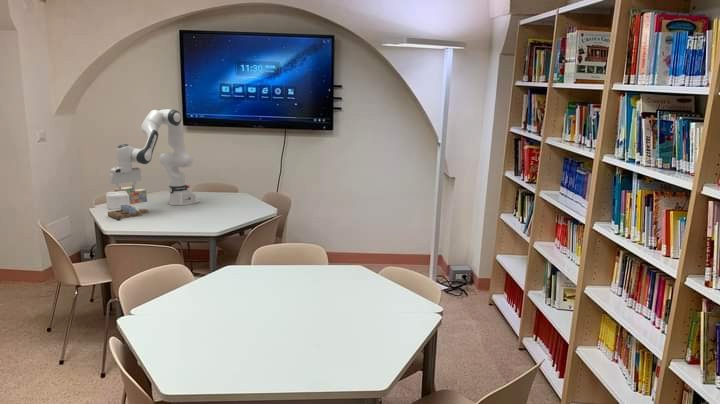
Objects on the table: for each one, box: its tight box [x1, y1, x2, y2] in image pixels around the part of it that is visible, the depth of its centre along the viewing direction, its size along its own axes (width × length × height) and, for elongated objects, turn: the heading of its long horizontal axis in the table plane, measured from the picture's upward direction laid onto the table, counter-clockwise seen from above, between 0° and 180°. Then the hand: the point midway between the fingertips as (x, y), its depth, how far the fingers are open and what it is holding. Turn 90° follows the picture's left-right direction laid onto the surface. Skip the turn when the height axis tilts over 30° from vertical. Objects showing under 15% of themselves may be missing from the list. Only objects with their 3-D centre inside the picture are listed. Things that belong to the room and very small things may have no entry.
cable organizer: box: [105, 191, 131, 211], centre depth 368 cm, size 15×11×12 cm
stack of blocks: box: [114, 186, 148, 205], centre depth 387 cm, size 21×6×12 cm, turn 140°
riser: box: [139, 208, 149, 214], centre depth 358 cm, size 4×5×2 cm
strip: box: [120, 204, 136, 214], centre depth 350 cm, size 4×14×5 cm, turn 47°
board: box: [107, 209, 142, 221], centre depth 348 cm, size 16×16×3 cm
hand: (126, 188), depth 346 cm, fingers open, 8 cm apart
